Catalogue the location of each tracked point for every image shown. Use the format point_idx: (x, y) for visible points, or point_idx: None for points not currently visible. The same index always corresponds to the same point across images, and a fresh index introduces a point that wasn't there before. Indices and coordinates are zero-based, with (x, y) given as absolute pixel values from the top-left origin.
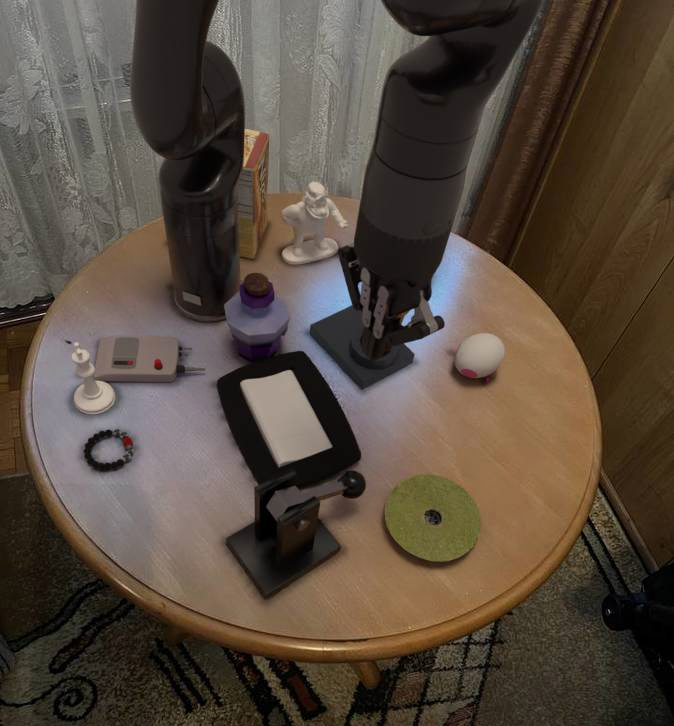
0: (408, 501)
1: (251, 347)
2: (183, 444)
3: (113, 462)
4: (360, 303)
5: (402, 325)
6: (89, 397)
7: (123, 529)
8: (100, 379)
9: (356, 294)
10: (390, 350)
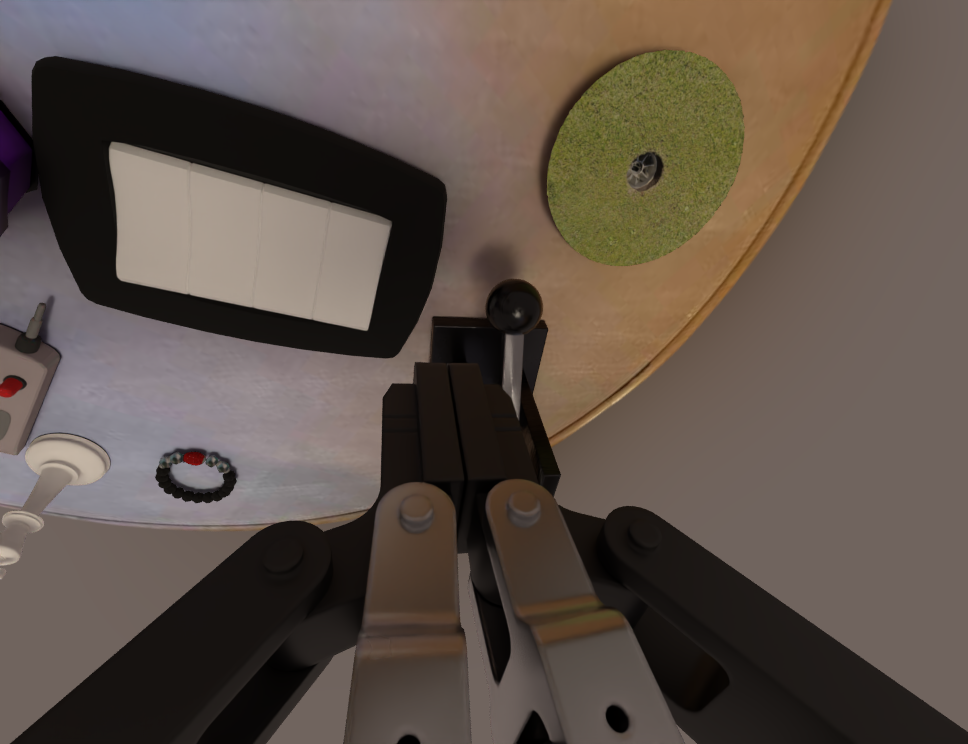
0: (588, 187)
1: (5, 227)
2: (230, 397)
3: (226, 484)
4: (323, 660)
5: (607, 582)
6: (75, 481)
7: (332, 493)
8: (23, 445)
9: (277, 728)
10: (515, 411)
